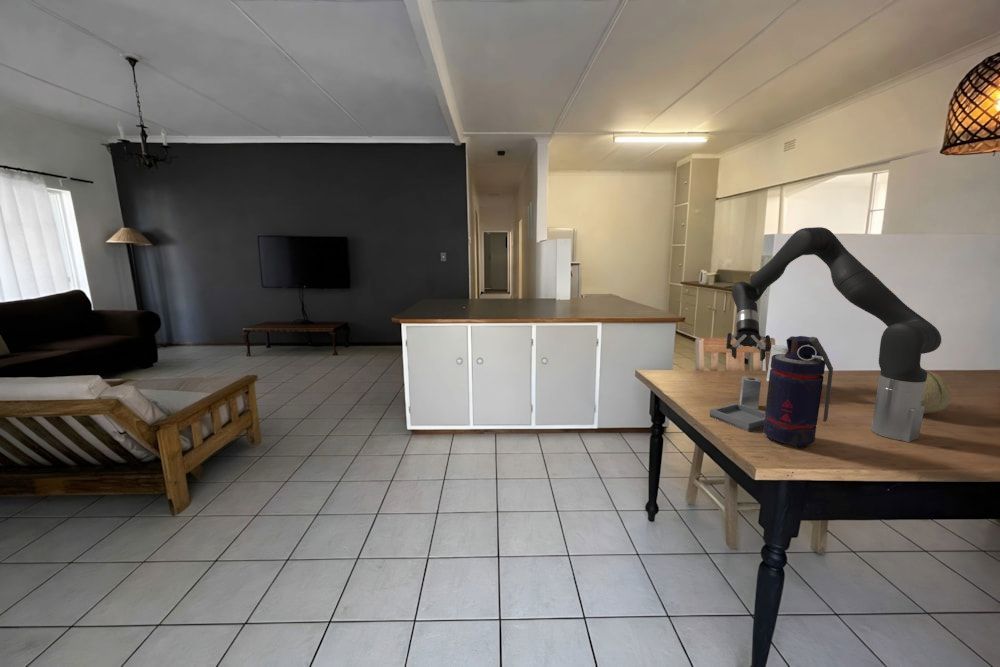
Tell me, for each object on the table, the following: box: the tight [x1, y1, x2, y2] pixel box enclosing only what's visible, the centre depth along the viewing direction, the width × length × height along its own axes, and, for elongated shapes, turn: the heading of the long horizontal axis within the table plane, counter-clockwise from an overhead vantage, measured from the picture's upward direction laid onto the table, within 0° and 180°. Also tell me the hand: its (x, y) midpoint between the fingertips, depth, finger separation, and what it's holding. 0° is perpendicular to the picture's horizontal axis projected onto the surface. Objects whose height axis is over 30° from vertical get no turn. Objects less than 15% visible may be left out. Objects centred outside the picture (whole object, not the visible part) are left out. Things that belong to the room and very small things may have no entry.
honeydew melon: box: [921, 370, 953, 415], centre depth 129 cm, size 15×15×15 cm
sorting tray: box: [709, 402, 766, 432], centre depth 126 cm, size 13×13×2 cm
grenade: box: [763, 335, 834, 449], centre depth 108 cm, size 14×12×30 cm
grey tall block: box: [738, 375, 762, 410], centre depth 137 cm, size 5×5×10 cm
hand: (748, 358), depth 145 cm, fingers open, 8 cm apart
